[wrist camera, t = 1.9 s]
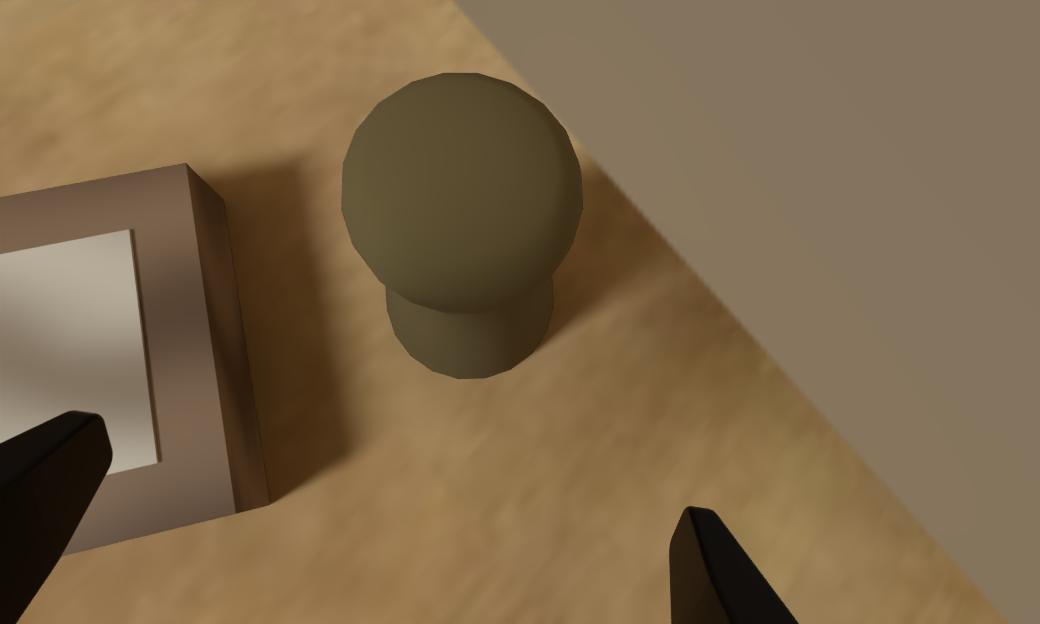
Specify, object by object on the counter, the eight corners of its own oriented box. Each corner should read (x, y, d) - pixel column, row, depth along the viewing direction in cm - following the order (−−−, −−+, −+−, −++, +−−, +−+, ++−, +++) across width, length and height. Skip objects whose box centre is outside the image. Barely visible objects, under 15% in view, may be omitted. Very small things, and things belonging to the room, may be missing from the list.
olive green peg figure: (569, 363, 23) (648, 283, 12) (399, 394, 22) (321, 340, 11) (536, 205, 24) (581, 4, 13) (375, 230, 23) (283, 41, 12)
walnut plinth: (270, 504, 21) (234, 514, 18) (-87, 591, 20) (-189, 617, 17) (223, 199, 23) (184, 161, 20) (-102, 261, 22) (-195, 231, 19)
